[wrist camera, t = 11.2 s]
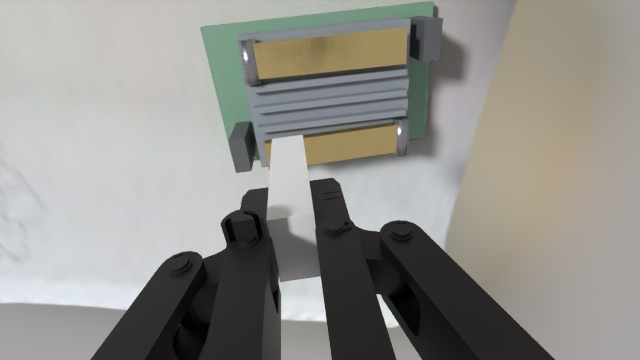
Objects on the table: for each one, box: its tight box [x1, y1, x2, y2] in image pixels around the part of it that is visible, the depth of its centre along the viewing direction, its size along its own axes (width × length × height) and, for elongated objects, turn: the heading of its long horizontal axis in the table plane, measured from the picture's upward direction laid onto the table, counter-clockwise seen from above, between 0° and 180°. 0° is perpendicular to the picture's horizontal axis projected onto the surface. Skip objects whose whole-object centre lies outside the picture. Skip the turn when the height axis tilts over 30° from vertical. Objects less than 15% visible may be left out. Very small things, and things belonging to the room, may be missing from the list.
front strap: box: [237, 27, 407, 85], centre depth 30 cm, size 15×4×2 cm, turn 96°
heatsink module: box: [200, 2, 443, 173], centre depth 35 cm, size 24×15×7 cm, turn 96°
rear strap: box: [264, 116, 409, 171], centre depth 34 cm, size 15×4×2 cm, turn 96°
